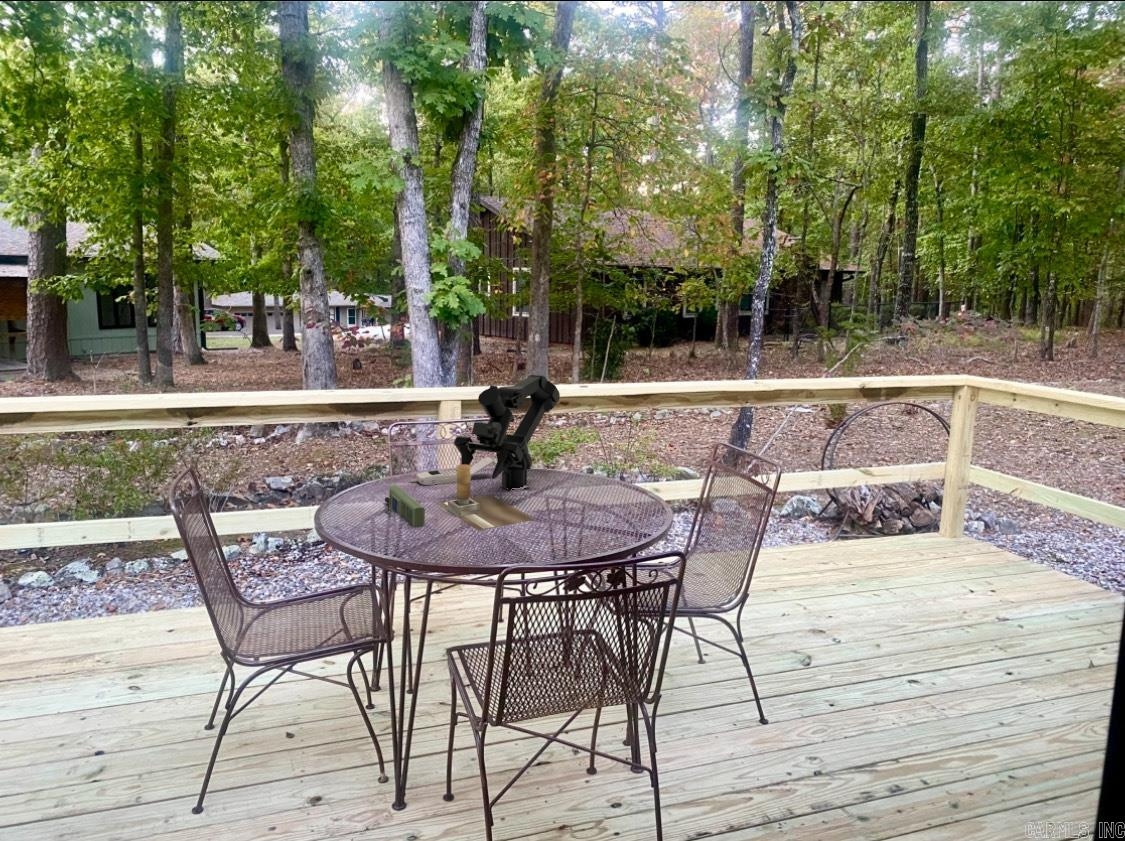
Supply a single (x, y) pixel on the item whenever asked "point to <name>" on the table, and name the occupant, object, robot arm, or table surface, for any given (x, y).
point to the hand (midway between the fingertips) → (477, 475)
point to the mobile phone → (448, 474)
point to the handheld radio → (406, 506)
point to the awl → (463, 484)
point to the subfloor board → (486, 512)
